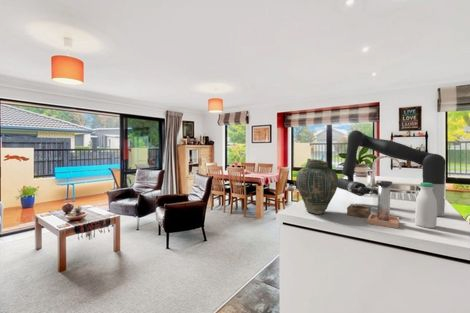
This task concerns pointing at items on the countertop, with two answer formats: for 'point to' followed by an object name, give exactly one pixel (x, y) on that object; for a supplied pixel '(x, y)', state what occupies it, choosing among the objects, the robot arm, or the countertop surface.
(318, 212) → the vase
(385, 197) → the clear bottle
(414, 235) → the countertop surface
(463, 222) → the countertop surface
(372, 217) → the dish
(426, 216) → the milk bottle
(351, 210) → the socket block
